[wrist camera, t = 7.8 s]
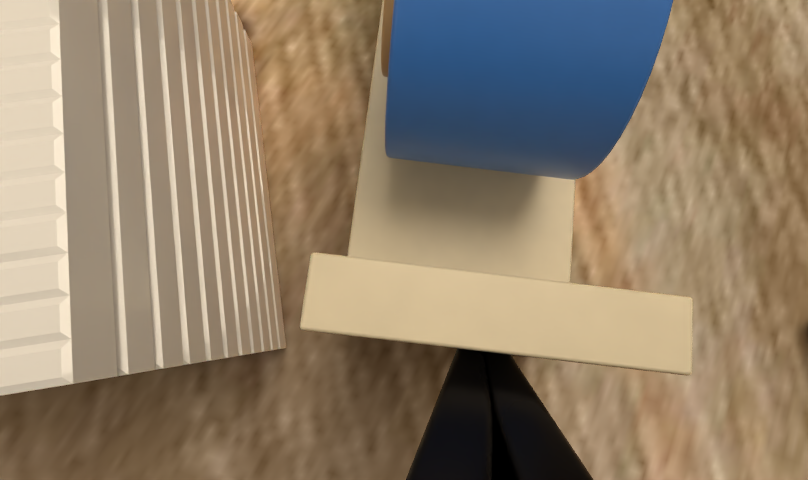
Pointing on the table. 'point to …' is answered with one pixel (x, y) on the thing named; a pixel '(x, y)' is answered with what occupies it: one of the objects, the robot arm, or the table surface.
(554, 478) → the robot arm
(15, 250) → the stack of papers
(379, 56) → the tape dispenser
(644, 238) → the table surface
